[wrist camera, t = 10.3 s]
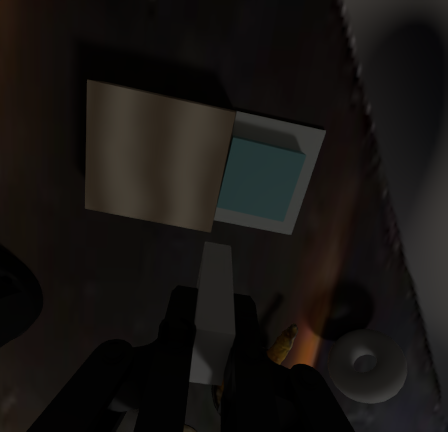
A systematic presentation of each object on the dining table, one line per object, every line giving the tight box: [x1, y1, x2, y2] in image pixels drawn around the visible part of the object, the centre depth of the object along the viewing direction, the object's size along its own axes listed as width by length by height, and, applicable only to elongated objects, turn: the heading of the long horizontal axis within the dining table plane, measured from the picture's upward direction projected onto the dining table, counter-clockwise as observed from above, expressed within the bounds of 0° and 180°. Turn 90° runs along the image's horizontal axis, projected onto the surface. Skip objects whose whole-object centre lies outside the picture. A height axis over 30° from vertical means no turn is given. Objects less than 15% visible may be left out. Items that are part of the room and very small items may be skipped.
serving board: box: [85, 80, 236, 232], centre depth 31 cm, size 14×13×4 cm
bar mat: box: [214, 111, 326, 235], centre depth 33 cm, size 10×13×1 cm
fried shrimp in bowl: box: [212, 323, 298, 416], centre depth 41 cm, size 9×11×18 cm
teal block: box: [217, 135, 306, 222], centre depth 32 cm, size 8×8×2 cm
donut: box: [328, 329, 407, 404], centre depth 38 cm, size 10×3×10 cm, turn 124°
